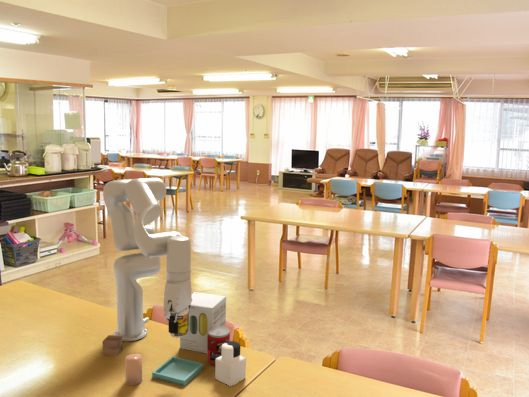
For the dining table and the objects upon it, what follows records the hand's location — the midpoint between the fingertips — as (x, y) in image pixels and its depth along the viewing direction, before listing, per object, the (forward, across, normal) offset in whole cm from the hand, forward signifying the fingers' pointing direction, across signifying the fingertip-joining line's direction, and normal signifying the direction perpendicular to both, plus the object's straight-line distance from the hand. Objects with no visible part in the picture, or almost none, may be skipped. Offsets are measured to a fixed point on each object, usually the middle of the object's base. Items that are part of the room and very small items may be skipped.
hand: (178, 328), depth 152 cm
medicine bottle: (+16, -4, +17) cm, 23 cm away
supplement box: (+16, -22, -3) cm, 27 cm away
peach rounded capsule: (+15, +10, -10) cm, 21 cm away
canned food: (+16, -13, +8) cm, 22 cm away
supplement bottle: (+2, 0, 0) cm, 2 cm away
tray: (+15, 0, 0) cm, 15 cm away
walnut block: (+15, -3, -29) cm, 33 cm away
